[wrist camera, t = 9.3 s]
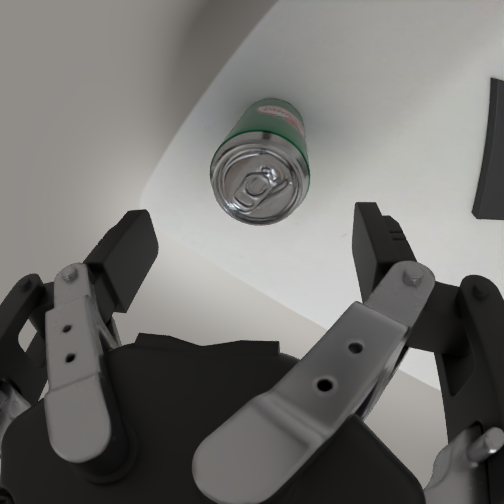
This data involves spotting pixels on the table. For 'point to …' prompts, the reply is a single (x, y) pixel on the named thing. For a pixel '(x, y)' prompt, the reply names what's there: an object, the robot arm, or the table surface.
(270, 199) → the soda can
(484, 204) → the dark grey flat block
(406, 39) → the table surface
